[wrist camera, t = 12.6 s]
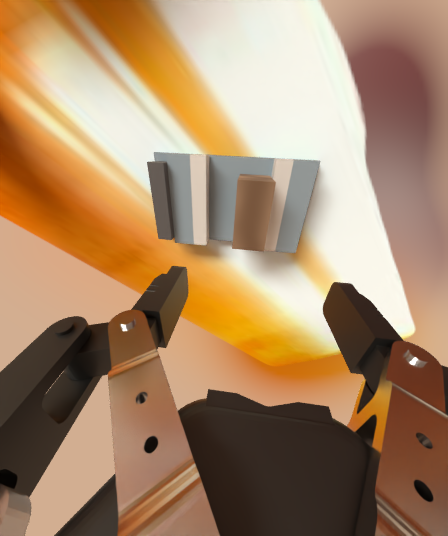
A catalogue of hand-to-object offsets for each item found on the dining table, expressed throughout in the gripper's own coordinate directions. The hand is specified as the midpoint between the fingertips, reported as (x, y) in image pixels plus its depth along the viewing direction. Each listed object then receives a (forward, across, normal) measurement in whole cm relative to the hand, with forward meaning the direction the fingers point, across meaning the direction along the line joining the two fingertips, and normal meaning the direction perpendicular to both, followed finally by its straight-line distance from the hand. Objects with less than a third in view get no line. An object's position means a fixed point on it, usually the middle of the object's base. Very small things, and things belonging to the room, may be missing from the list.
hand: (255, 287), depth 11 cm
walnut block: (+20, 0, 0) cm, 20 cm away
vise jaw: (+20, +10, 0) cm, 22 cm away
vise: (+22, +3, 0) cm, 22 cm away
